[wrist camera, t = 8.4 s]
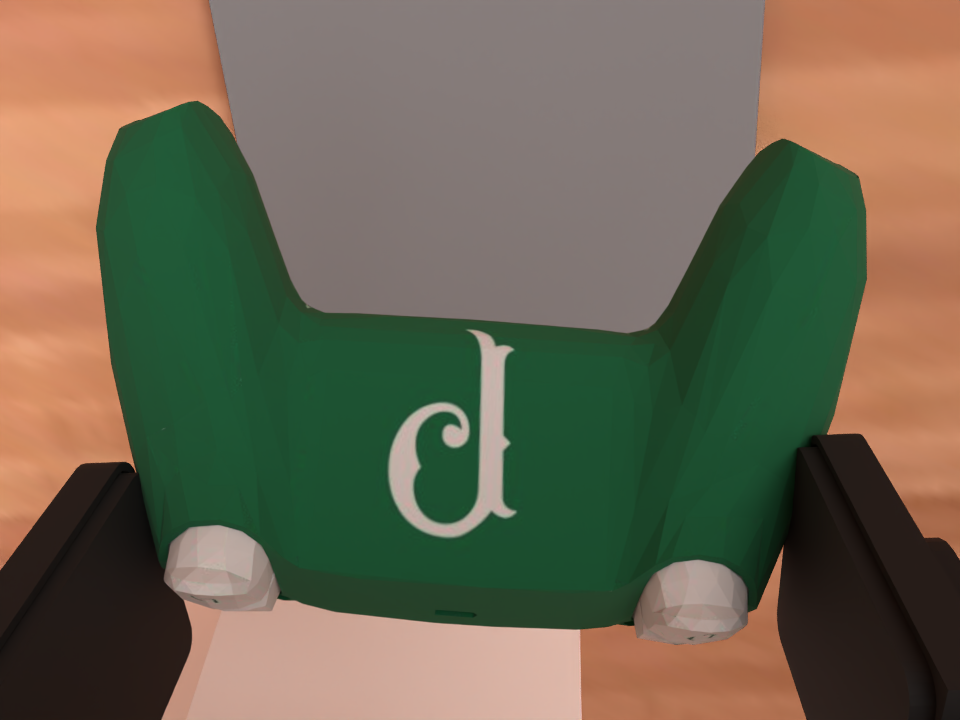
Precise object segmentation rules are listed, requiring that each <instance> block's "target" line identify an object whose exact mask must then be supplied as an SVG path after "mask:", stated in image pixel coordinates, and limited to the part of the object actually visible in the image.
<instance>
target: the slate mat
mask: <svg viewBox="0 0 960 720" xmlns="http://www.w3.org/2000/svg"><path fill="white" fill-rule="evenodd" d="M209 4H210V9H211V14H212V19H213V24H214V29H215V34H216V39H217V44H218V49H219V54H220V59H221V64H222V69H223V74H224V79H225V84H226V89H227V94H228V99H229V104H230V109H231V114H232V119H233V125H234V130H235V135H236V140H237V145H238V147H239V148H240V150H241V152H242V154H243V156H244V158H245V160H246V162H247V163H248V165H249V167H250V169H251V171H252V173H253V175H254V178H255V180H256V183H257V186H258V189H259V192H260V195H261V198H262V200H263V203H264V206H265V209H266V212H267V215H268V218H269V220H270V223H271V226H272V229H273V232H274V235H275V237H276V240H277V243H278V246H279V249H280V251H281V254H282V257H283V260H284V262H285V265H286V268H287V271H288V273H289V276H290V279H291V281H292V283H293V285H294V287H295V288H296V290H297V292H298V294H299V296H300V297H301V299H302V300H303V301H304V302H305V303H306V304H307V305H309V306H311V307H313V308H315V309H317V310H320V311H322V312H325V313H363V314H381V315H399V316H418V317H436V318H454V319H473V320H486V321H499V322H511V323H524V324H536V325H549V326H561V327H574V328H586V329H599V330H606V331H614V332H622V333H631V332H636V331H641V330H644V329H647V328H649V327H650V326H651V325H653V324H654V323H655V322H656V321H657V320H658V318H659V317H660V316H661V314H662V313H663V312H664V310H665V309H666V308H667V306H668V305H669V303H670V301H671V299H672V297H673V295H674V293H675V291H676V289H677V287H678V286H679V284H680V282H681V280H682V278H683V276H684V274H685V272H686V270H687V268H688V267H689V265H690V263H691V261H692V259H693V257H694V255H695V253H696V251H697V249H698V247H699V245H700V243H701V241H702V239H703V237H704V235H705V233H706V231H707V229H708V227H709V225H710V223H711V221H712V219H713V217H714V215H715V213H716V211H717V209H718V207H719V205H720V204H721V202H722V201H723V200H724V198H725V197H726V195H727V194H728V193H729V191H730V190H731V188H732V187H733V185H734V184H735V183H736V181H737V180H738V178H739V177H740V175H741V174H742V173H743V171H744V170H745V168H746V167H747V166H748V165H749V163H750V162H751V161H752V160H753V159H754V158H755V147H756V131H757V116H758V101H759V86H760V71H761V55H762V40H763V25H764V10H765V0H209Z"/></svg>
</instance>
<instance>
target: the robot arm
mask: <svg viewBox="0 0 960 720" xmlns="http://www.w3.org/2000/svg"><path fill="white" fill-rule="evenodd" d="M164 574H165V569H164V568H162V567H161V565H160V563H159V560H158V556H157V552H156V548H155V544H154V540H153V536H152V532H151V528H150V524H149V520H148V516H147V512H146V508H145V504H144V500H143V494H142V489H141V483H140V478H139V473H138V472H137V473H135V470H134V468H133V467H132V466H131V465H130V464H129V463H127V462H110V463H86V464H82V465H80V466H79V467H78V468H77V469H76V470H75V471H74V473H73V474H72V475H71V477H70V478H69V479H68V481H67V482H66V483H65V485H64V486H63V487H62V489H61V490H60V491H59V493H58V494H57V495H56V497H55V498H54V499H53V501H52V502H51V503H50V505H49V506H48V507H47V509H46V510H45V511H44V513H43V514H42V515H41V517H40V518H39V519H38V521H37V522H36V523H35V525H34V526H33V528H32V529H31V530H30V532H29V533H28V534H27V536H26V537H25V538H24V540H23V541H22V542H21V544H20V545H19V546H18V548H17V549H16V550H15V552H14V553H13V554H12V556H11V557H10V558H9V560H8V561H7V562H6V564H5V565H4V566H3V568H2V569H1V570H0V720H161V719H162V717H163V715H164V712H165V710H166V708H167V705H168V703H169V701H170V698H171V696H172V694H173V691H174V689H175V687H176V684H177V682H178V680H179V677H180V675H181V673H182V670H183V668H184V666H185V663H186V661H187V659H188V656H189V653H190V650H191V645H192V627H191V622H190V619H189V616H188V612H187V609H186V606H185V602H184V600H183V599H182V598H181V597H180V596H179V595H178V594H177V593H176V592H174V591H173V590H172V589H171V588H170V587H169V586H168V585H167V584H166V583H165V581H164ZM777 622H778V631H779V636H780V640H781V643H782V646H783V649H784V652H785V655H786V658H787V661H788V664H789V668H790V671H791V674H792V677H793V680H794V683H795V686H796V689H797V692H798V695H799V698H800V701H801V704H802V707H803V710H804V713H805V716H806V719H807V720H960V560H959V558H958V557H957V555H956V553H955V552H954V550H953V549H952V548H951V547H950V545H949V544H948V543H947V542H946V541H944V540H942V539H940V538H924V537H923V535H922V534H921V532H920V530H919V529H918V527H917V525H916V524H915V522H914V520H913V519H912V517H911V515H910V514H909V512H908V510H907V509H906V507H905V505H904V504H903V502H902V500H901V499H900V497H899V495H898V493H897V492H896V490H895V488H894V487H893V485H892V483H891V482H890V480H889V478H888V477H887V475H886V473H885V472H884V470H883V468H882V467H881V465H880V463H879V462H878V460H877V458H876V457H875V455H874V453H873V451H872V450H871V448H870V446H869V445H868V443H867V441H866V440H865V438H864V437H863V436H862V435H861V434H833V435H813V436H812V440H811V447H799V448H797V461H796V473H795V485H794V496H793V512H792V517H791V522H790V526H789V531H788V535H787V538H786V540H785V542H784V548H783V558H782V568H781V578H780V588H779V598H778V607H777Z"/></svg>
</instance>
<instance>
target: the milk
mask: <svg viewBox="0 0 960 720" xmlns="http://www.w3.org/2000/svg"><path fill="white" fill-rule="evenodd" d="M184 602H185V606H186V609H187V612H188V616H189V619H190V622H191V627H192V645H191V650H190V653H189V656H188V659H187V661H186V663H185V666H184V668H183V670H182V673H181V675H180V677H179V680H178V682H177V684H176V687H175V689H174V691H173V694H172V696H171V698H170V701H169V703H168V705H167V708H166V710H165V712H164V715H163V717H162V719H161V720H582V715H581V659H580V629H579V630H569V629H541V628H512V627H488V626H473V625H458V624H442V623H430V622H421V621H412V620H403V619H394V618H385V617H375V616H366V615H357V614H348V613H339V612H333V611H329V610H325V609H321V608H317V607H313V606H309V605H305V604H302V603H300V602H297V601H285V600H280V599H277V600H276V603H275V605H274V607H273V610H272V611H222V610H219V609H211V608H208V607H205V606H202V605H199V604H196V603H193V602H190V601H187V600H184Z"/></svg>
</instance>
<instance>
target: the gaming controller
mask: <svg viewBox="0 0 960 720" xmlns="http://www.w3.org/2000/svg"><path fill="white" fill-rule="evenodd" d="M96 232H97V241H98V250H99V259H100V268H101V277H102V286H103V295H104V304H105V313H106V322H107V331H108V339H109V348H110V357H111V365H112V369H113V374H114V378H115V382H116V387H117V391H118V396H119V400H120V404H121V409H122V413H123V418H124V422H125V426H126V431H127V435H128V440H129V444H130V448H131V453H132V457H133V461H134V464H135V468H136V472H138V473H139V478H140V483H141V489H142V494H143V500H144V504H145V508H146V512H147V516H148V520H149V524H150V528H151V532H152V536H153V540H154V544H155V548H156V552H157V556H158V560H159V563H160V565H161V567H162V568H164V569H165V574H164V581H165V583H166V584H167V585H168V586H169V587H170V588H171V589H172V590H173V591H174V592H176V593H177V594H178V595H179V596H180V597H181V598H182V599H183V600H187V601H190V602H193V603H196V604H199V605H202V606H205V607H208V608H211V609H219V610H222V611H272V610H273V607H274V605H275V603H276V600H277V599H280V600H285V601H297V602H300V603H302V604H305V605H309V606H313V607H317V608H321V609H325V610H329V611H333V612H339V613H348V614H357V615H366V616H375V617H385V618H394V619H403V620H412V621H421V622H430V623H442V624H458V625H473V626H488V627H512V628H541V629H569V630H579V629H590V628H601V627H609V626H613V625H616V624H619V625H626V626H634V625H635V630H636V635H637V638H640V639H646V640H651V641H657V642H663V643H668V644H674V645H680V644H691V645H696V644H702V643H707V642H713V641H719V640H725V639H728V638H729V637H731V636H732V635H734V634H735V633H736V632H738V631H739V630H741V629H743V628H744V627H745V626H746V625H747V623H748V612H750V611H753V610H755V609H757V607H758V605H759V602H760V600H761V597H762V595H763V593H764V590H765V588H766V585H767V583H768V581H769V578H770V576H771V573H772V571H773V569H774V566H775V564H776V562H777V559H778V557H779V554H780V552H781V550H782V547H783V545H784V542H785V540H786V538H787V535H788V531H789V526H790V522H791V517H792V512H793V496H794V485H795V473H796V461H797V448H799V447H811V440H812V436H813V435H827V432H828V430H829V427H830V424H831V422H832V419H833V416H834V413H835V409H836V405H837V401H838V397H839V392H840V388H841V384H842V380H843V376H844V372H845V367H846V363H847V359H848V355H849V351H850V347H851V343H852V338H853V334H854V330H855V326H856V322H857V318H858V313H859V309H860V305H861V301H862V297H863V293H864V288H865V284H866V280H867V251H866V208H865V204H864V199H863V194H862V190H861V185H860V180H859V177H858V176H857V175H856V174H855V173H853V172H851V171H850V170H848V169H846V168H845V167H843V166H841V165H839V164H835V163H833V162H831V161H829V160H827V159H825V158H823V157H821V156H819V155H817V154H816V153H814V152H812V151H810V150H808V149H806V148H804V147H802V146H800V145H798V144H796V143H794V142H792V141H789V140H786V139H781V140H778V141H776V142H774V143H772V144H770V145H769V146H767V147H766V148H764V149H763V150H762V151H760V152H759V153H758V154H757V156H756V157H755V158H754V159H753V160H752V161H751V162H750V163H749V165H748V166H747V167H746V168H745V170H744V171H743V173H742V174H741V175H740V177H739V178H738V180H737V181H736V183H735V184H734V185H733V187H732V188H731V190H730V191H729V193H728V194H727V195H726V197H725V198H724V200H723V201H722V202H721V204H720V205H719V207H718V209H717V211H716V213H715V215H714V217H713V219H712V221H711V223H710V225H709V227H708V229H707V231H706V233H705V235H704V237H703V239H702V241H701V243H700V245H699V247H698V249H697V251H696V253H695V255H694V257H693V259H692V261H691V263H690V265H689V267H688V268H687V270H686V272H685V274H684V276H683V278H682V280H681V282H680V284H679V286H678V287H677V289H676V291H675V293H674V295H673V297H672V299H671V301H670V303H669V305H668V306H667V308H666V309H665V310H664V312H663V313H662V314H661V316H660V317H659V318H658V320H657V321H656V322H655V323H654V324H653V325H651V326H650V327H649V328H647V329H644V330H641V331H636V332H631V333H622V332H614V331H606V330H599V329H586V328H574V327H561V326H549V325H536V324H524V323H511V322H499V321H486V320H473V319H454V318H436V317H418V316H399V315H381V314H363V313H325V312H322V311H320V310H317V309H315V308H313V307H311V306H309V305H307V304H306V303H305V302H304V301H303V300H302V299H301V297H300V296H299V294H298V292H297V290H296V288H295V287H294V285H293V283H292V281H291V279H290V276H289V273H288V271H287V268H286V265H285V262H284V260H283V257H282V254H281V251H280V249H279V246H278V243H277V240H276V237H275V235H274V232H273V229H272V226H271V223H270V220H269V218H268V215H267V212H266V209H265V206H264V203H263V200H262V198H261V195H260V192H259V189H258V186H257V183H256V180H255V178H254V175H253V173H252V171H251V169H250V167H249V165H248V163H247V162H246V160H245V158H244V156H243V154H242V152H241V150H240V148H239V147H238V145H237V143H236V141H235V139H234V137H233V135H232V133H231V132H230V130H229V129H228V128H227V126H226V125H225V123H224V122H223V121H222V119H221V118H220V116H218V115H217V114H216V113H215V112H214V111H213V110H211V109H210V108H209V107H208V106H206V105H204V104H202V103H200V102H199V101H193V102H187V103H184V104H181V105H178V106H176V107H174V108H171V109H169V110H166V111H164V112H161V113H158V114H156V115H153V116H150V117H148V118H145V119H142V120H137V121H135V122H132V123H130V124H128V125H125V126H123V127H121V128H120V129H119V131H118V133H117V136H116V138H115V140H114V143H113V145H112V148H111V150H110V153H109V155H108V157H107V160H106V165H105V172H104V178H103V185H102V191H101V198H100V204H99V211H98V217H97V224H96Z"/></svg>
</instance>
